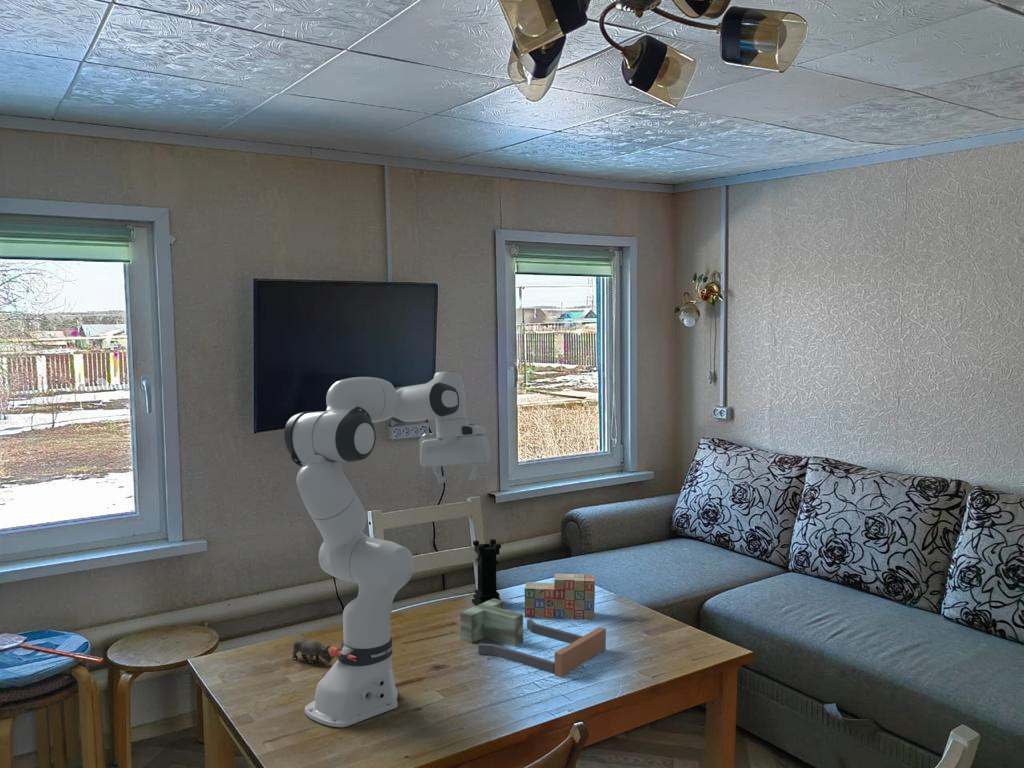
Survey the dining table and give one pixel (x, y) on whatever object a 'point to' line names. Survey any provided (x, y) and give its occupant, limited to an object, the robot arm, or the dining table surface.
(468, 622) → the T block
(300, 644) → the rhino figurine
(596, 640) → the bay
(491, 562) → the chess piece
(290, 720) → the dining table surface
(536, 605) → the stack of blocks
